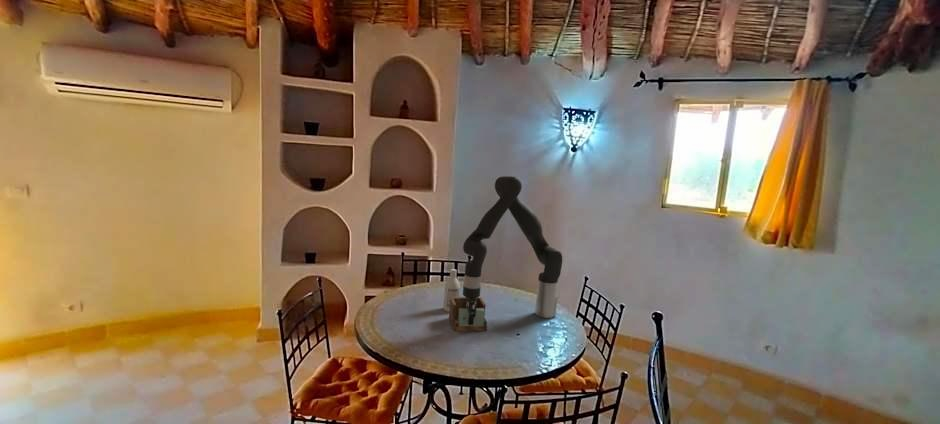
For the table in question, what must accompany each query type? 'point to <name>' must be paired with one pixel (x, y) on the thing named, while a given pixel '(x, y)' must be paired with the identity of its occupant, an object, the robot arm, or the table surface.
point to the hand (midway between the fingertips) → (469, 321)
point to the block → (464, 317)
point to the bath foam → (451, 289)
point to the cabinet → (454, 313)
